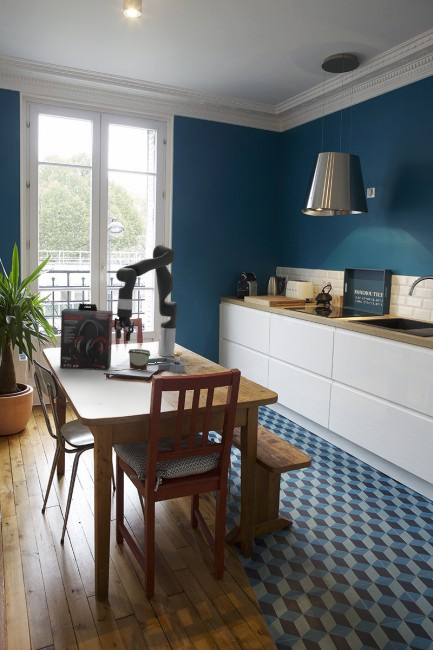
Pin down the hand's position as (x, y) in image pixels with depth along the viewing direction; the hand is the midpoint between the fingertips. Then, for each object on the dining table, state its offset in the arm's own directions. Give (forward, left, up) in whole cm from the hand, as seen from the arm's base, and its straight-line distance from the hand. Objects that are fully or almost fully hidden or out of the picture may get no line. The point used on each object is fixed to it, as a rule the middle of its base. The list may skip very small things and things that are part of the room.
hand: (123, 339), depth 258 cm
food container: (0, +12, -16) cm, 20 cm away
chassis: (+4, +26, -16) cm, 31 cm away
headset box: (-16, -12, -16) cm, 26 cm away
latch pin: (+13, +26, -12) cm, 31 cm away
